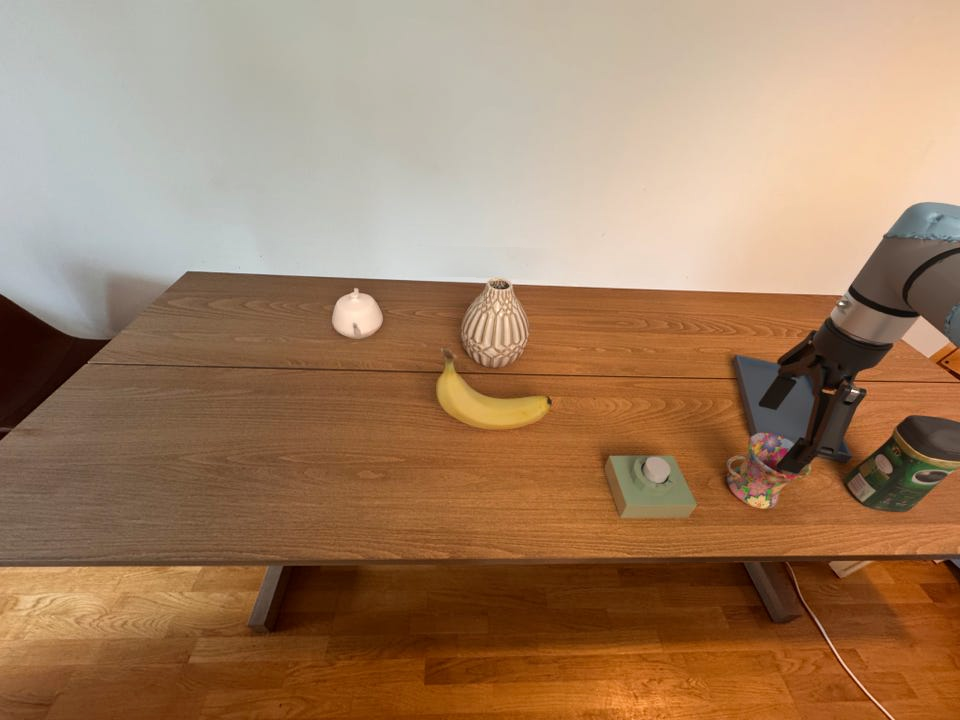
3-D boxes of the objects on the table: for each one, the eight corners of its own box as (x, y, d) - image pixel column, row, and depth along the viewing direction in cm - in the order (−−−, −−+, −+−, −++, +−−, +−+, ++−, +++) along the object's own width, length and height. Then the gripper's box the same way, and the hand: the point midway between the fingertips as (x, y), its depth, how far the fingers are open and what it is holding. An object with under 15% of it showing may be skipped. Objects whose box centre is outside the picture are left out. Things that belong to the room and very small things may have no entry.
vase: (525, 340, 108) (536, 269, 95) (524, 381, 96) (537, 307, 83) (464, 333, 109) (467, 263, 96) (455, 374, 96) (457, 299, 83)
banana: (543, 412, 89) (561, 336, 76) (549, 433, 84) (569, 356, 71) (436, 415, 86) (435, 337, 73) (436, 437, 82) (435, 358, 69)
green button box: (620, 518, 71) (630, 498, 67) (603, 468, 78) (612, 448, 75) (688, 517, 72) (702, 498, 68) (665, 468, 79) (677, 448, 75)
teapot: (385, 351, 101) (381, 316, 95) (331, 356, 99) (324, 320, 92) (382, 306, 116) (379, 273, 110) (335, 309, 114) (329, 276, 107)
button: (647, 483, 70) (650, 476, 68) (638, 463, 73) (642, 456, 72) (670, 483, 70) (674, 476, 69) (661, 463, 73) (665, 456, 72)
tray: (846, 463, 83) (852, 456, 81) (752, 439, 86) (757, 433, 85) (807, 376, 103) (811, 370, 102) (732, 360, 106) (735, 354, 105)
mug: (762, 470, 80) (792, 433, 73) (788, 515, 73) (823, 479, 66) (700, 466, 80) (724, 429, 73) (719, 510, 73) (748, 474, 66)
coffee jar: (886, 479, 80) (962, 412, 68) (915, 517, 74) (1004, 450, 62) (834, 473, 81) (901, 405, 69) (858, 510, 75) (937, 443, 63)
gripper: (801, 278, 64) (738, 380, 78) (865, 385, 45) (767, 494, 59) (857, 288, 62) (782, 390, 76) (946, 402, 44) (827, 510, 58)
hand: (776, 435), depth 68 cm, fingers open, 13 cm apart
